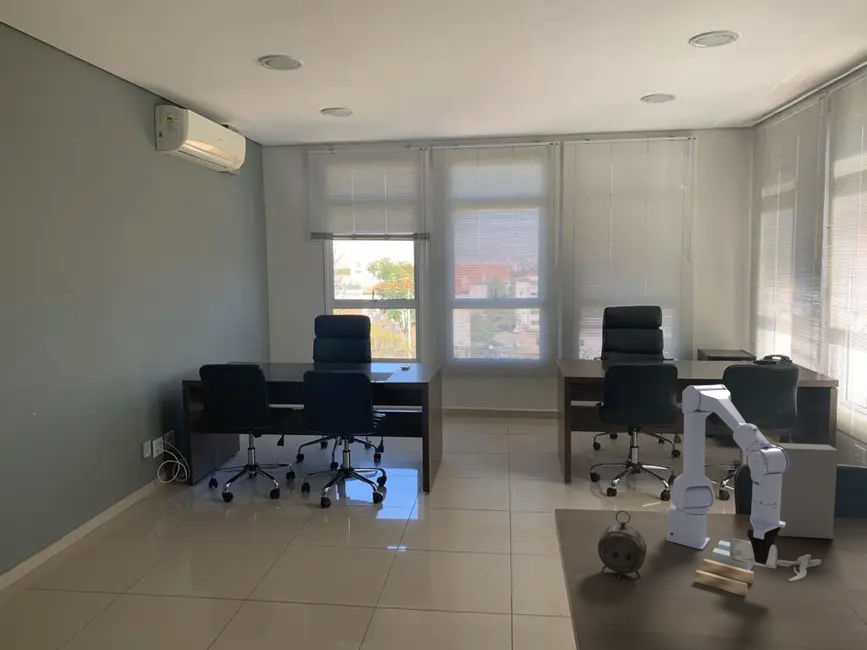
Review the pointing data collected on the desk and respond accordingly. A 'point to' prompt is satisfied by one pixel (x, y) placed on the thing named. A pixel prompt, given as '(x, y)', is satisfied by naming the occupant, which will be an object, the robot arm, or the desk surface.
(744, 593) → the wooden rails
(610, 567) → the alarm clock
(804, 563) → the pliers
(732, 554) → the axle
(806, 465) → the tall grey box
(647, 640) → the desk surface
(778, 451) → the robot arm
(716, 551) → the v block
